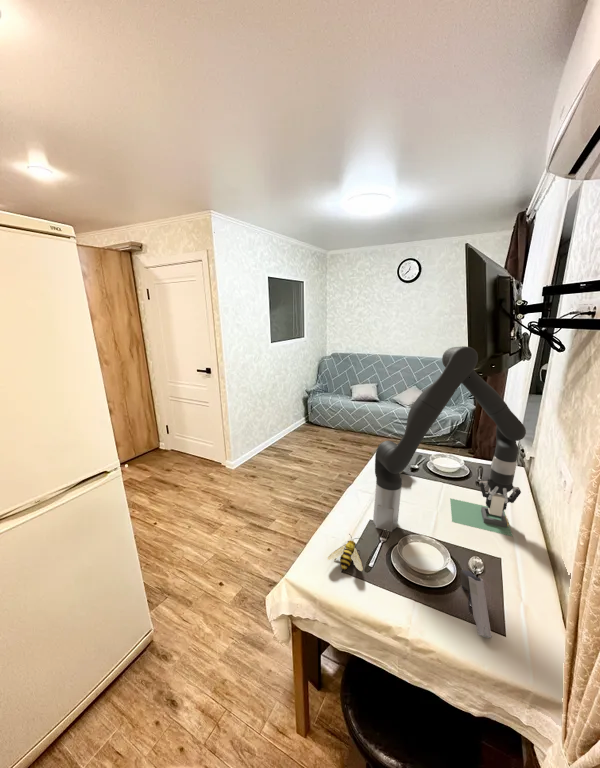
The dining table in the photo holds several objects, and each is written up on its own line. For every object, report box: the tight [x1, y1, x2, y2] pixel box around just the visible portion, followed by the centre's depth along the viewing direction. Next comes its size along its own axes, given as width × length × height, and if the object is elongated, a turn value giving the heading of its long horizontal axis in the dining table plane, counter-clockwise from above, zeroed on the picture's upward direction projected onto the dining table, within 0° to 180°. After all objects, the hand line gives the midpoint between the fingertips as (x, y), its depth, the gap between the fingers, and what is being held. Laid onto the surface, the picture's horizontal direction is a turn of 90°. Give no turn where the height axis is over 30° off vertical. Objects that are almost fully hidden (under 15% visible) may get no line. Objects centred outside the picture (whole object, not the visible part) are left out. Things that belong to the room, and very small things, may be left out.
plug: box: [488, 493, 505, 516], centre depth 121 cm, size 5×4×8 cm
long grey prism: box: [460, 569, 492, 639], centre depth 88 cm, size 4×15×12 cm
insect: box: [327, 534, 364, 572], centre depth 104 cm, size 11×15×5 cm
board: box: [449, 498, 513, 537], centre depth 124 cm, size 16×20×3 cm
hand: (495, 508), depth 121 cm, fingers closed on plug, 4 cm apart
